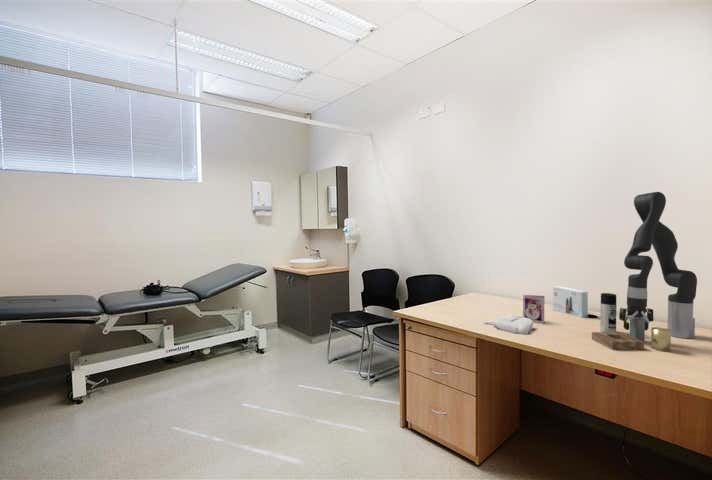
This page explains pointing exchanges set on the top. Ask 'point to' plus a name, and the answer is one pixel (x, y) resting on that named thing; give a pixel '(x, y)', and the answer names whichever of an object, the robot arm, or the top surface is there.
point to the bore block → (617, 341)
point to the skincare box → (570, 301)
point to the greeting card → (533, 308)
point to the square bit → (637, 328)
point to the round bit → (661, 339)
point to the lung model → (512, 324)
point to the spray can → (608, 312)
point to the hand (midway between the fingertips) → (635, 329)
